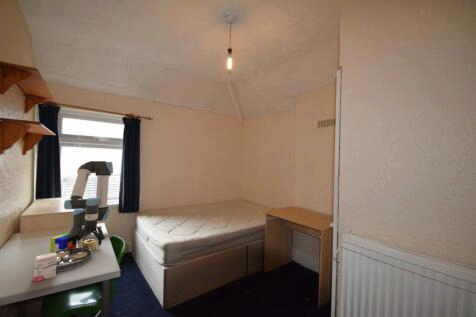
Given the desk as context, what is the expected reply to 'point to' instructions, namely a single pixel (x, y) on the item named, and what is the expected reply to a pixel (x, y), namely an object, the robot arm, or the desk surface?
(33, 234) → the desk surface
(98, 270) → the desk surface
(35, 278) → the ink box
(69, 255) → the carrier
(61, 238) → the puzzle toy
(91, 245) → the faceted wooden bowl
